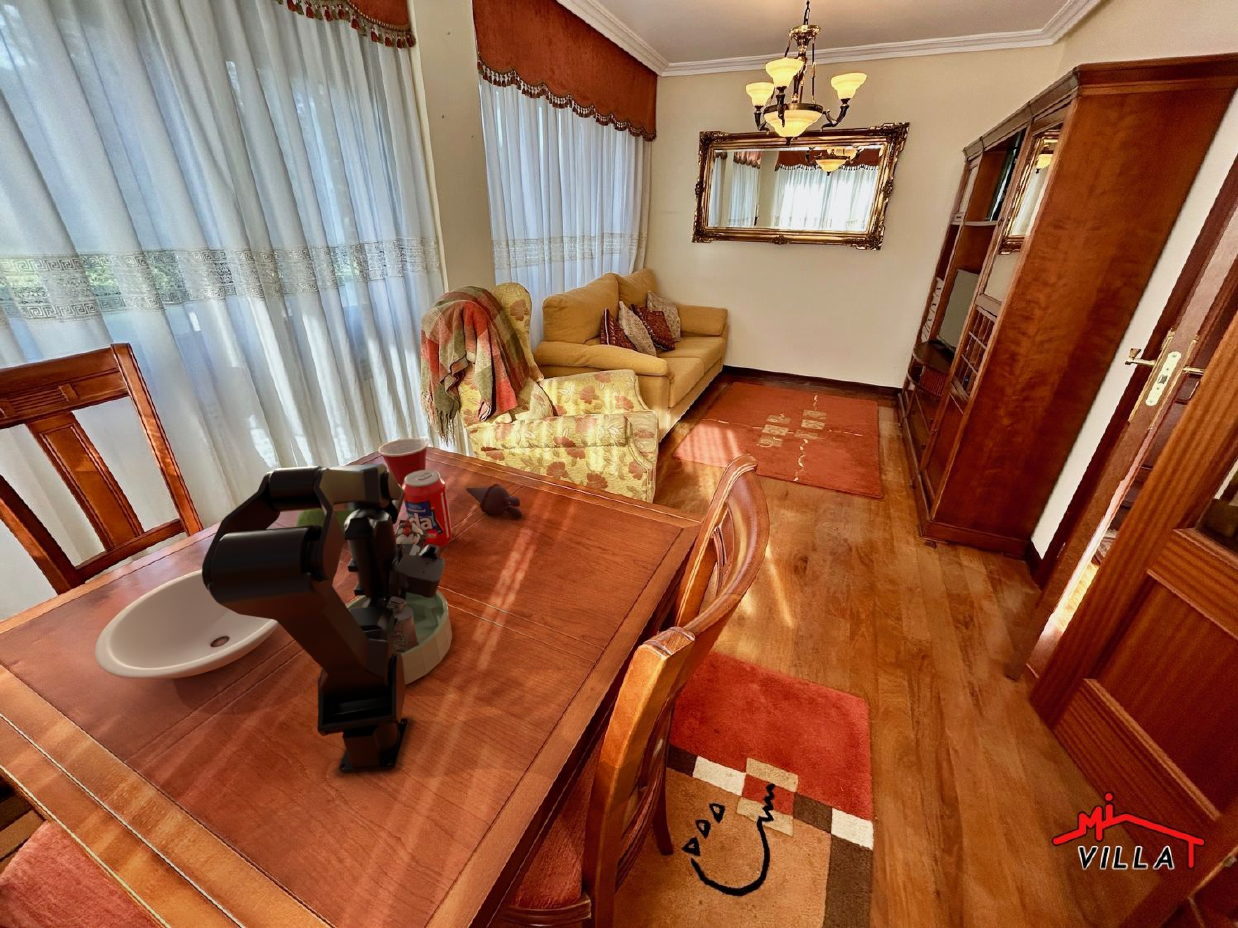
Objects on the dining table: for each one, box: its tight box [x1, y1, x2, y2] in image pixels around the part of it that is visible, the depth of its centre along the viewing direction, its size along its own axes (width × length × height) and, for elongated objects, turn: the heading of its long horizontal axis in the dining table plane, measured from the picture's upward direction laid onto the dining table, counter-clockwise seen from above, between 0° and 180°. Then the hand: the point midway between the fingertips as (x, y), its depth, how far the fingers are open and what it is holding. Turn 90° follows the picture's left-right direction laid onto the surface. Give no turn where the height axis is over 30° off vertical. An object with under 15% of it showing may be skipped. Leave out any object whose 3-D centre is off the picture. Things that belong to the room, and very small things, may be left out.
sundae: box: [394, 517, 428, 551], centre depth 87 cm, size 7×7×15 cm
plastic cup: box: [377, 437, 429, 487], centre depth 118 cm, size 11×11×12 cm
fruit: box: [295, 509, 355, 542], centre depth 100 cm, size 15×10×10 cm, turn 163°
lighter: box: [362, 597, 419, 654], centre depth 74 cm, size 8×3×10 cm, turn 72°
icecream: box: [465, 483, 523, 519], centre depth 111 cm, size 7×7×15 cm
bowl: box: [346, 589, 453, 686], centre depth 76 cm, size 16×16×6 cm
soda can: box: [402, 469, 453, 549], centre depth 98 cm, size 8×8×15 cm
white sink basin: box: [94, 568, 280, 680], centre depth 75 cm, size 24×24×7 cm
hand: (393, 632), depth 75 cm, fingers open, 7 cm apart
